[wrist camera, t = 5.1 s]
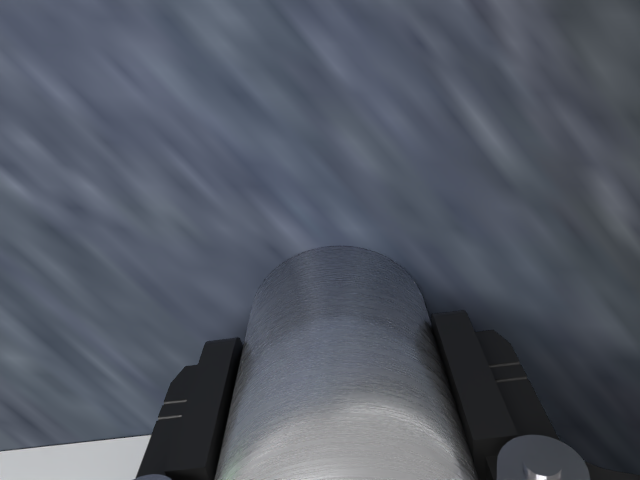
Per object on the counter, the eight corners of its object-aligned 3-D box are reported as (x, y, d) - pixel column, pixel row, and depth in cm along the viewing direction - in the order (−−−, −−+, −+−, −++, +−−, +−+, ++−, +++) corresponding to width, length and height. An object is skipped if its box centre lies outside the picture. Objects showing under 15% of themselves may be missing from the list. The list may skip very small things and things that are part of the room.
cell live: (420, 233, 12) (590, 693, 4) (431, 380, 14) (562, 873, 6) (232, 259, 12) (83, 726, 5) (269, 399, 14) (207, 889, 7)
